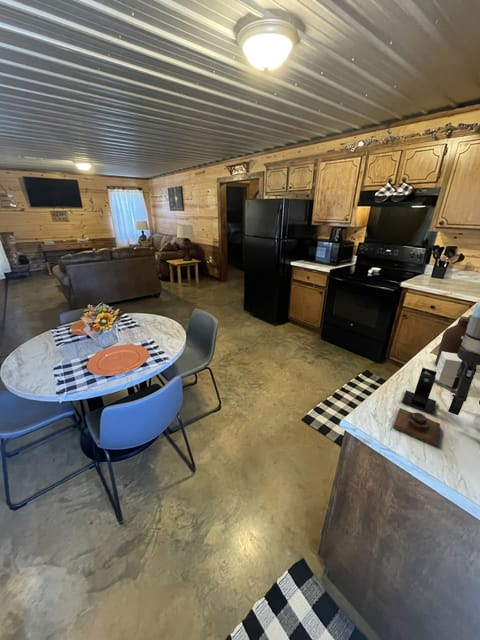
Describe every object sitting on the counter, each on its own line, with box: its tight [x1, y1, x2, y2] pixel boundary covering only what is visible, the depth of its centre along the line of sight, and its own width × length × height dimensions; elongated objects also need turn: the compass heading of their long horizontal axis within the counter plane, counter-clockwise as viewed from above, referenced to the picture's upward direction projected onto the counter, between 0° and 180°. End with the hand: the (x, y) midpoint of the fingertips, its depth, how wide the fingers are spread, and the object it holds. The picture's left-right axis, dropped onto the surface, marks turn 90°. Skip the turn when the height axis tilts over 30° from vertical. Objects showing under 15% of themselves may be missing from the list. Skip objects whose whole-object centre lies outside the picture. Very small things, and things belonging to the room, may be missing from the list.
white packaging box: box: [434, 351, 462, 388], centre depth 109 cm, size 7×7×13 cm
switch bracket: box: [401, 367, 437, 416], centre depth 97 cm, size 10×8×14 cm
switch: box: [424, 371, 457, 395], centre depth 93 cm, size 12×5×2 cm, turn 51°
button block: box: [392, 407, 441, 447], centre depth 87 cm, size 12×10×4 cm
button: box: [412, 412, 427, 424], centre depth 86 cm, size 4×4×2 cm
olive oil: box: [434, 315, 470, 367], centre depth 119 cm, size 11×11×25 cm
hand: (453, 402), depth 92 cm, fingers open, 13 cm apart
